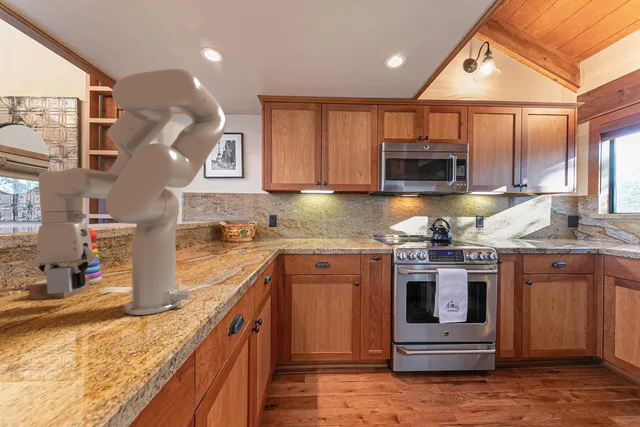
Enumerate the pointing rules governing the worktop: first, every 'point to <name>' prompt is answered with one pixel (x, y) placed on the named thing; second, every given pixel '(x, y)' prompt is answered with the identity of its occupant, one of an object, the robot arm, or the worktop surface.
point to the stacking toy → (94, 267)
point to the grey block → (60, 279)
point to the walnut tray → (41, 292)
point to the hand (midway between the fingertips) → (67, 287)
